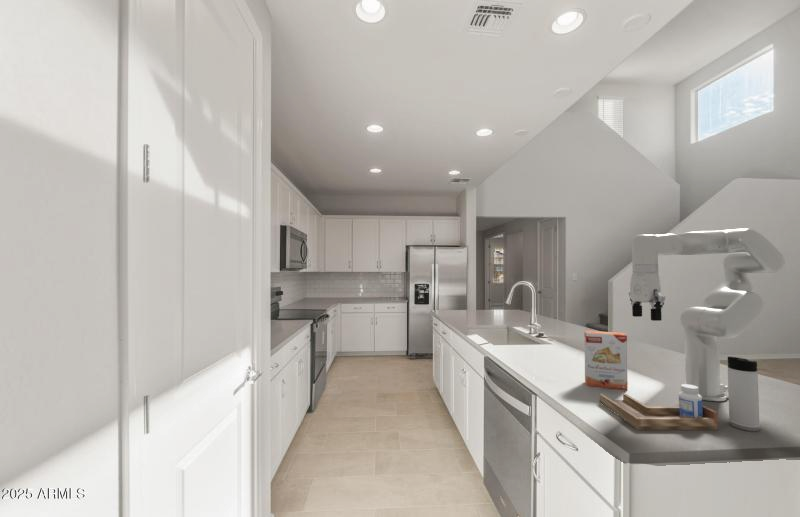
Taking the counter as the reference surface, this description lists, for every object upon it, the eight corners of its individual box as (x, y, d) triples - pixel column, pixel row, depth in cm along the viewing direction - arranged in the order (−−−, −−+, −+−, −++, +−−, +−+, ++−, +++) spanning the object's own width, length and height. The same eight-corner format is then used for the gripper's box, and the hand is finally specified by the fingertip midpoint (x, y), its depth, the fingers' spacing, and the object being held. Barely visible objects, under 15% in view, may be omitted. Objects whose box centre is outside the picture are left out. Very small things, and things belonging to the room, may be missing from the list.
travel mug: (722, 422, 105) (720, 354, 105) (742, 421, 105) (740, 354, 106) (744, 432, 99) (742, 360, 99) (766, 431, 99) (763, 359, 100)
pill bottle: (695, 416, 107) (694, 383, 107) (707, 423, 102) (706, 389, 102) (675, 414, 108) (674, 382, 108) (686, 422, 103) (685, 388, 103)
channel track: (666, 402, 120) (666, 388, 120) (718, 429, 100) (717, 412, 100) (599, 402, 121) (599, 388, 121) (637, 429, 101) (637, 412, 101)
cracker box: (586, 386, 137) (585, 332, 138) (584, 381, 143) (583, 329, 143) (628, 390, 132) (627, 334, 132) (625, 385, 138) (623, 332, 138)
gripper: (619, 269, 133) (620, 315, 133) (651, 270, 116) (652, 322, 115) (639, 269, 133) (641, 315, 132) (674, 269, 116) (675, 322, 115)
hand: (646, 318), depth 124 cm, fingers open, 9 cm apart
